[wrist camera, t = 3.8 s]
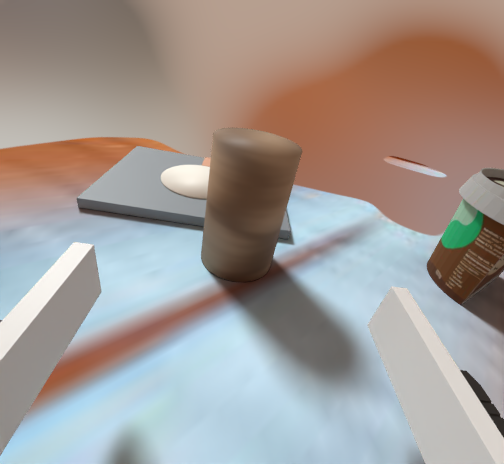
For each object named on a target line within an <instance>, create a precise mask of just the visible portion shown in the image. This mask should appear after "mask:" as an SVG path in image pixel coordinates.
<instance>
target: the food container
mask: <svg viewBox="0 0 504 464" xmlns="http://www.w3.org/2000/svg"><path fill="white" fill-rule="evenodd" d="M459 193H460V195H461V196H462V197H463V200H462V202H461V204H460V206H459V207H458V209H457V211H456V213H455V214H454V216H453V218H452V220H451V222H450V223H449V225H448V227H447V229H446V230H445V232H444V234H443V236H442V238H441V239H440V241H439V243H438V245H437V246H436V248H435V250H434V252H433V254H432V255H431V257H430V259H429V261H428V263H427V270H428V273H429V275H430V276H431V278H432V279H433V281H434V282H435V283H436V284H437V286H438V287H439V288H440V289H441V290H442V291H443V292H444V293H446V294H447V295H448V296H449V297H450V298H452V299H453V300H454V301H456V302H457V303H458V304H460V305H462V304H463V303H464V302H466V301H467V300H468V299H470V298H471V297H472V296H474V295H475V294H476V293H477V292H479V291H480V290H481V289H483V288H484V287H485V286H487V285H488V284H489V283H490V282H492V281H493V280H494V279H496V278H497V277H498V276H499V275H500V274H501V273H502V272H503V271H504V170H503V169H496V168H483V169H481V171H480V172H479V173H478V174H474V175H473V176H472V177H471V178H470V179H469V180H468V181H467V182H466V183H465V184H464V185H463V186H462V187H461V188H460V189H459Z"/></svg>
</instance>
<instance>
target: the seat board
mask: <svg viewBox="0 0 504 464" xmlns="http://www.w3.org/2000/svg"><path fill="white" fill-rule="evenodd" d="M210 161H211V158H207V157H205V158H202V157H197V156H191V155H185V154H180V153H174V152H168V151H163V150H157V149H151V148H146V147H140V146H137V147H136V148H135V149H133V150H132V151H131V152H130V153H129V154H128V155H126V156H125V157H124V158H123V159H122V160H120V161H119V162H118V163H117V164H116V165H115V166H113V167H112V168H111V169H110V170H109V171H108V172H106V173H105V174H104V175H103V176H102V177H101V178H99V179H98V180H97V181H96V182H95V183H93V184H92V185H91V186H90V187H89V188H88V189H86V190H85V191H84V192H83V193H82V194H81V195H79V196H78V197H77V202H78V207H79V208H86V209H92V210H99V211H106V212H112V213H119V214H125V215H132V216H138V217H145V218H152V219H158V220H165V221H171V222H178V223H184V224H191V225H198V226H204V221H205V211H206V201H207V191H208V181H209V171H210ZM289 234H290V227H289V222H288V217H287V212H286V211H285V215H284V219H283V222H282V226H281V229H280V233H279V237H278V238H283V239H288V237H289Z"/></svg>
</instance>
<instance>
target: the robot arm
mask: <svg viewBox="0 0 504 464" xmlns="http://www.w3.org/2000/svg"><path fill="white" fill-rule="evenodd" d="M100 293H101V286H100V280H99V274H98V268H97V262H96V255H95V249H94V245H92V244H85V243H77V242H74V243H73V244H72V245H71V246H70V247H69V248H68V249H67V251H66V252H65V253H64V254H63V255H62V256H61V257H60V258H59V259H58V260H57V261H56V263H55V264H54V265H53V266H52V267H51V268H50V269H49V270H48V271H47V272H46V273H45V275H44V276H43V277H42V278H41V279H40V280H39V281H38V282H37V283H36V284H35V285H34V287H33V288H32V289H31V290H30V291H29V292H28V293H27V294H26V295H25V296H24V297H23V299H22V300H21V301H20V302H19V303H18V304H17V305H16V306H15V307H14V308H13V309H12V311H11V312H10V313H9V314H8V315H7V316H6V317H5V318H4V319H3V320H0V455H1V454H2V452H3V450H4V449H5V447H6V446H7V444H8V442H9V441H10V439H11V437H12V436H13V434H14V433H15V431H16V429H17V428H18V426H19V425H20V423H21V421H22V420H23V418H24V416H25V415H26V413H27V412H28V410H29V408H30V407H31V405H32V403H33V402H34V400H35V399H36V397H37V395H38V394H39V392H40V391H41V389H42V387H43V386H44V384H45V382H46V381H47V379H48V378H49V376H50V374H51V373H52V371H53V369H54V368H55V366H56V365H57V363H58V361H59V360H60V358H61V357H62V355H63V353H64V352H65V350H66V348H67V347H68V345H69V344H70V342H71V340H72V339H73V337H74V336H75V334H76V332H77V331H78V329H79V327H80V326H81V324H82V323H83V321H84V319H85V318H86V316H87V314H88V313H89V311H90V310H91V308H92V306H93V305H94V303H95V302H96V300H97V298H98V297H99V295H100ZM368 328H369V330H370V333H371V335H372V337H373V340H374V342H375V345H376V347H377V349H378V352H379V354H380V357H381V359H382V361H383V364H384V366H385V369H386V371H387V373H388V376H389V378H390V381H391V383H392V385H393V388H394V390H395V393H396V395H397V397H398V400H399V402H400V404H401V407H402V409H403V412H404V414H405V416H406V419H407V421H408V424H409V426H410V428H411V431H412V433H413V436H414V438H415V440H416V443H417V445H418V448H419V450H420V452H421V455H422V457H423V460H424V462H425V464H504V419H503V418H501V417H500V413H499V412H498V410H497V409H496V407H495V406H494V404H491V400H490V399H489V397H488V396H487V394H486V393H485V391H484V390H483V388H482V387H481V385H480V384H479V383H478V382H477V381H476V380H475V379H474V378H473V377H472V376H471V375H470V374H469V373H468V372H467V371H463V370H459V368H458V367H457V365H456V363H455V362H454V360H453V359H452V357H451V356H450V354H449V353H448V351H447V349H446V348H445V346H444V345H443V343H442V342H441V340H440V339H439V337H438V336H437V334H436V332H435V331H434V329H433V328H432V326H431V325H430V323H429V322H428V320H427V319H426V317H425V315H424V314H423V312H422V311H421V309H420V308H419V306H418V305H417V303H416V301H415V300H414V298H413V297H412V295H411V294H410V292H409V291H408V289H406V288H399V287H391V288H390V290H389V292H388V293H387V295H386V296H385V298H384V299H383V301H382V303H381V304H380V306H379V307H378V309H377V310H376V312H375V314H374V315H373V317H372V318H371V320H370V321H369V323H368Z"/></svg>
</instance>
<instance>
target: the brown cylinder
mask: <svg viewBox="0 0 504 464" xmlns="http://www.w3.org/2000/svg"><path fill="white" fill-rule="evenodd" d="M301 154H302V149H301V147H300V146H299V145H297V144H296V143H294V142H292V141H291V140H288V139H286V138H284V137H281V136H278V135H275V134H271V133H267V132H263V131H258V130H253V129H245V128H222V129H218V130H216V131H215V132H214V133H213V141H212V151H211V161H210V171H209V181H208V191H207V201H206V211H205V221H204V231H203V241H202V251H201V259H202V262H203V264H204V266H205V267H206V268H207V269H208V270H209V271H210V272H211V273H213V274H214V275H216V276H218V277H220V278H223V279H225V280H229V281H235V282H248V281H253V280H257V279H259V278H261V277H263V276H264V275H265V274H266V273H267V272H268V271H269V269H270V265H271V262H272V258H273V255H274V251H275V247H276V244H277V240H278V237H279V233H280V229H281V226H282V222H283V219H284V215H285V211H286V208H287V204H288V201H289V197H290V193H291V190H292V186H293V182H294V179H295V175H296V172H297V168H298V165H299V161H300V157H301Z"/></svg>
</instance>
